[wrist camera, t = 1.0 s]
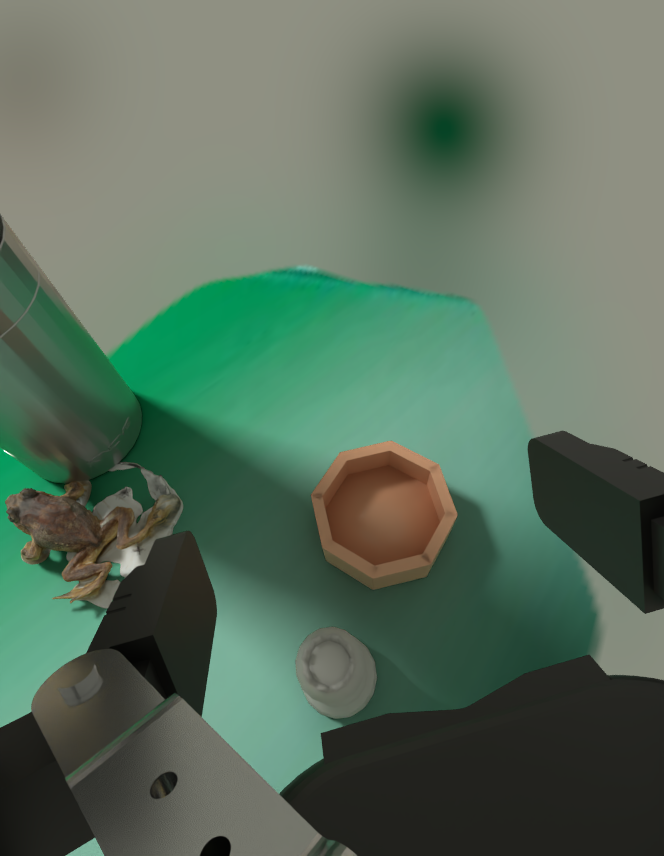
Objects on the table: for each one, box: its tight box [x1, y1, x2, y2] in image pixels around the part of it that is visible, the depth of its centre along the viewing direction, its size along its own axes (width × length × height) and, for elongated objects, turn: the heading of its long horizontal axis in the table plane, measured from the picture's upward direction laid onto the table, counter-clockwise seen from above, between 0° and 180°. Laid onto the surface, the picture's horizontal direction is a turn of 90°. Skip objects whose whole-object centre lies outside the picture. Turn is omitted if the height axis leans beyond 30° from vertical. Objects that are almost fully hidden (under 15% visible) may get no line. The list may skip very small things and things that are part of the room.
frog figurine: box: [5, 462, 183, 608], centre depth 34 cm, size 12×12×4 cm
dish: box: [311, 441, 458, 590], centre depth 33 cm, size 8×8×3 cm
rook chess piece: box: [295, 627, 377, 719], centre depth 26 cm, size 4×4×8 cm
